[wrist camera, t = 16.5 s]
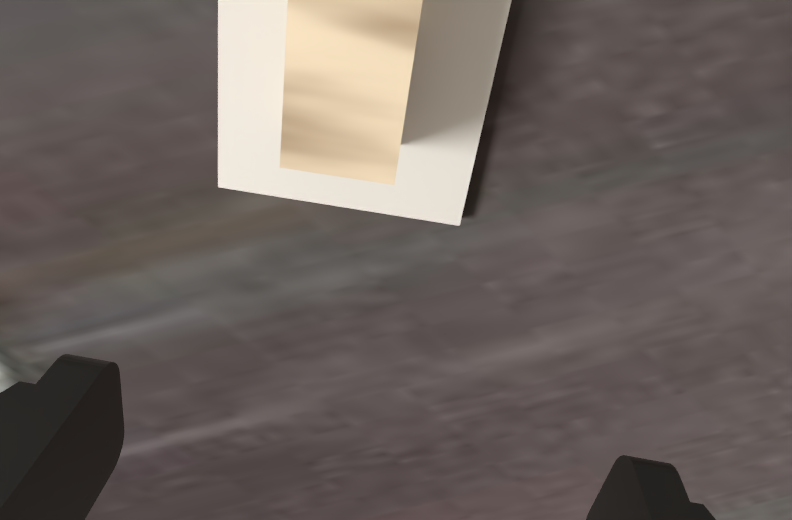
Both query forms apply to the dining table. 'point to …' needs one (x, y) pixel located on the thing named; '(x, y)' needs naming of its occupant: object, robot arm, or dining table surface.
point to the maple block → (347, 86)
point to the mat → (423, 125)
